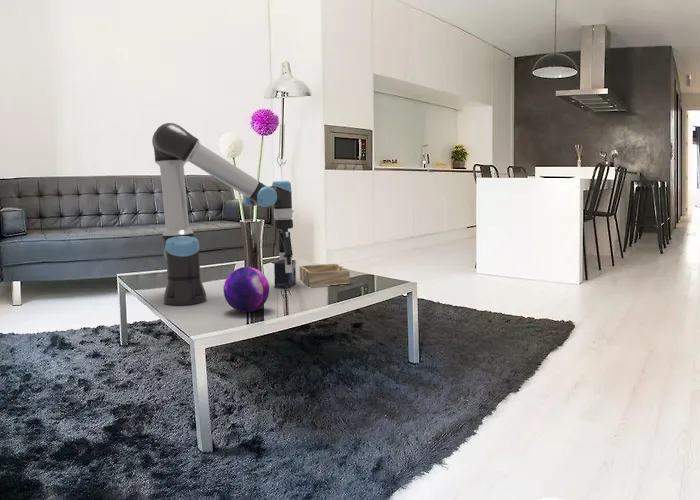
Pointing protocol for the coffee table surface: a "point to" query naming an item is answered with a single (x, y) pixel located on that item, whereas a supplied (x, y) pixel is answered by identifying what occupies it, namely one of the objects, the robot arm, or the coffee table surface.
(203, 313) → the coffee table surface
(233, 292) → the decorative orb
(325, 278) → the pine crate
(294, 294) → the coffee table surface
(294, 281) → the small box
